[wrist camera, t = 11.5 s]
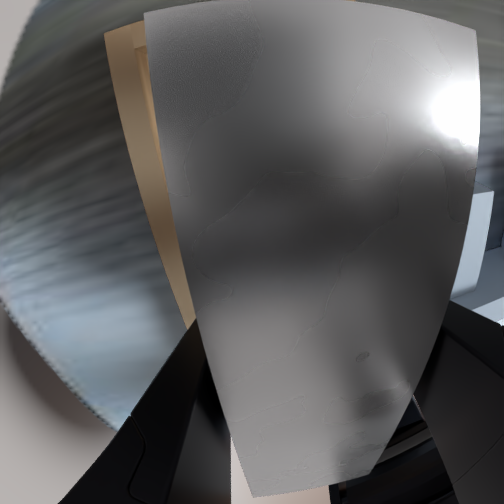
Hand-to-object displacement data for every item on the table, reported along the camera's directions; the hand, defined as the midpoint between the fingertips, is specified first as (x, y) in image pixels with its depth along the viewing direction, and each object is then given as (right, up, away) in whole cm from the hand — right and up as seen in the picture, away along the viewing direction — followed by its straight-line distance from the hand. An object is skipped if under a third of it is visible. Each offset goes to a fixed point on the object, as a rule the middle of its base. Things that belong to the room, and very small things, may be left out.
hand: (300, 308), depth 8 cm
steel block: (0, +1, +1) cm, 1 cm away
